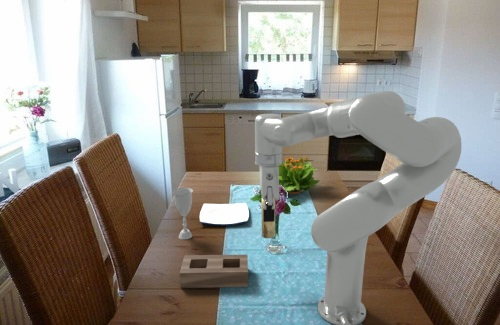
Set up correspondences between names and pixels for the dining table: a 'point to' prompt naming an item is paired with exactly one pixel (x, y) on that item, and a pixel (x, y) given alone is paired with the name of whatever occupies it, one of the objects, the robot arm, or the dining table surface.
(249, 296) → the dining table surface
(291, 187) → the potted flower
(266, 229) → the pin
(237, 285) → the hole block
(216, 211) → the plate
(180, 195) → the chalice
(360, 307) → the robot arm
